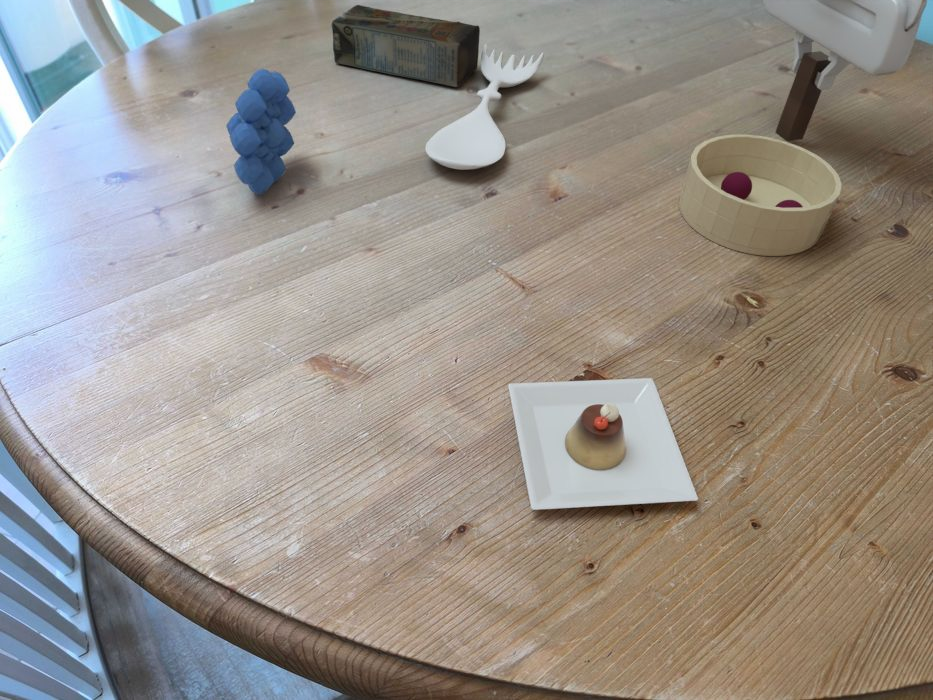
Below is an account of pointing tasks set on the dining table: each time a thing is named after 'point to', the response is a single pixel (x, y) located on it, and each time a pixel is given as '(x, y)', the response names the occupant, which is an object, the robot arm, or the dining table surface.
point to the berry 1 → (737, 185)
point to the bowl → (759, 194)
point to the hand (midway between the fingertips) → (810, 80)
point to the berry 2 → (789, 204)
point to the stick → (802, 97)
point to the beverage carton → (406, 45)
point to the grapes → (262, 130)
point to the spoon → (480, 119)
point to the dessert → (597, 444)
